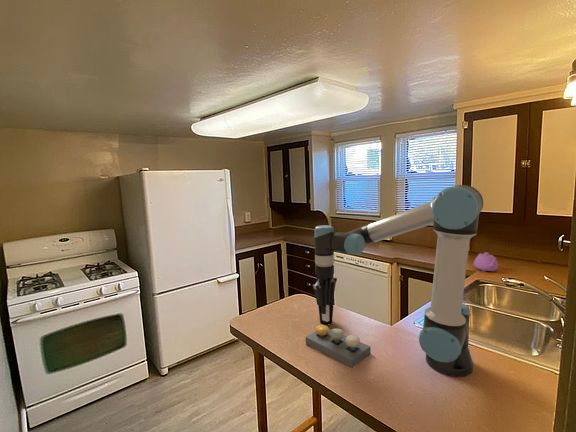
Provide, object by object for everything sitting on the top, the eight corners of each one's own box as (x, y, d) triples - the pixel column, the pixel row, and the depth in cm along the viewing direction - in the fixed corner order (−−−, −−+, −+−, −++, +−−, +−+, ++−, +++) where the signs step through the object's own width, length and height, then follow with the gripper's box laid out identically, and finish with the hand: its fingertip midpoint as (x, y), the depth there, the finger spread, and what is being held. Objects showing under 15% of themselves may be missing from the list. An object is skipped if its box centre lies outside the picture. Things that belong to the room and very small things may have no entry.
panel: (370, 353, 119) (370, 346, 118) (352, 367, 111) (352, 360, 110) (324, 332, 135) (324, 326, 135) (305, 343, 127) (305, 336, 127)
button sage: (346, 341, 123) (346, 331, 122) (338, 347, 119) (338, 336, 118) (335, 337, 126) (335, 327, 126) (327, 342, 123) (327, 332, 122)
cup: (323, 317, 150) (323, 293, 148) (337, 321, 145) (337, 297, 144) (314, 323, 144) (314, 298, 143) (328, 327, 139) (328, 302, 138)
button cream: (362, 349, 117) (362, 338, 117) (354, 354, 114) (354, 344, 113) (351, 344, 121) (350, 333, 120) (343, 349, 117) (343, 338, 117)
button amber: (331, 337, 128) (331, 327, 127) (323, 342, 125) (323, 332, 124) (321, 333, 132) (321, 323, 131) (313, 337, 128) (313, 328, 128)
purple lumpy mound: (506, 275, 201) (507, 256, 199) (484, 275, 202) (485, 257, 200) (487, 265, 221) (488, 249, 219) (467, 266, 221) (468, 249, 220)
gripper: (327, 259, 130) (328, 312, 133) (306, 266, 121) (308, 323, 124) (342, 262, 124) (342, 317, 127) (321, 270, 115) (322, 329, 119)
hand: (325, 320), depth 126 cm, fingers closed
